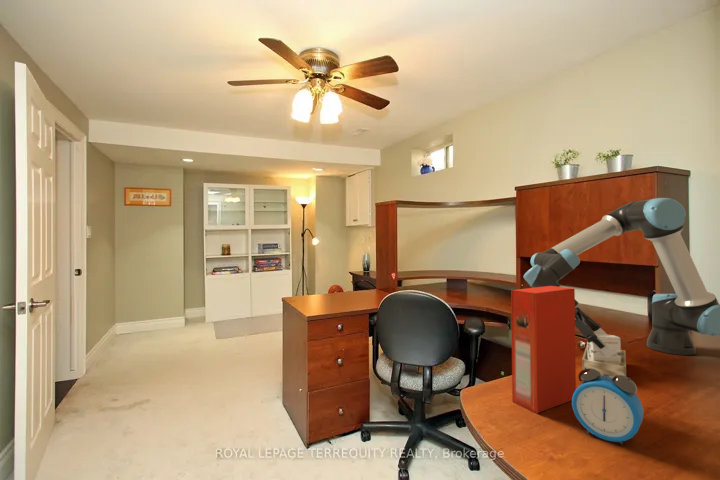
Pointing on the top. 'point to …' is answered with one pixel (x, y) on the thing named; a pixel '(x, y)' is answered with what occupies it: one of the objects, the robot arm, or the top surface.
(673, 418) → the top surface
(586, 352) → the desk organizer
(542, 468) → the top surface
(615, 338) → the ink box
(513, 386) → the file binder
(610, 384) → the alarm clock
